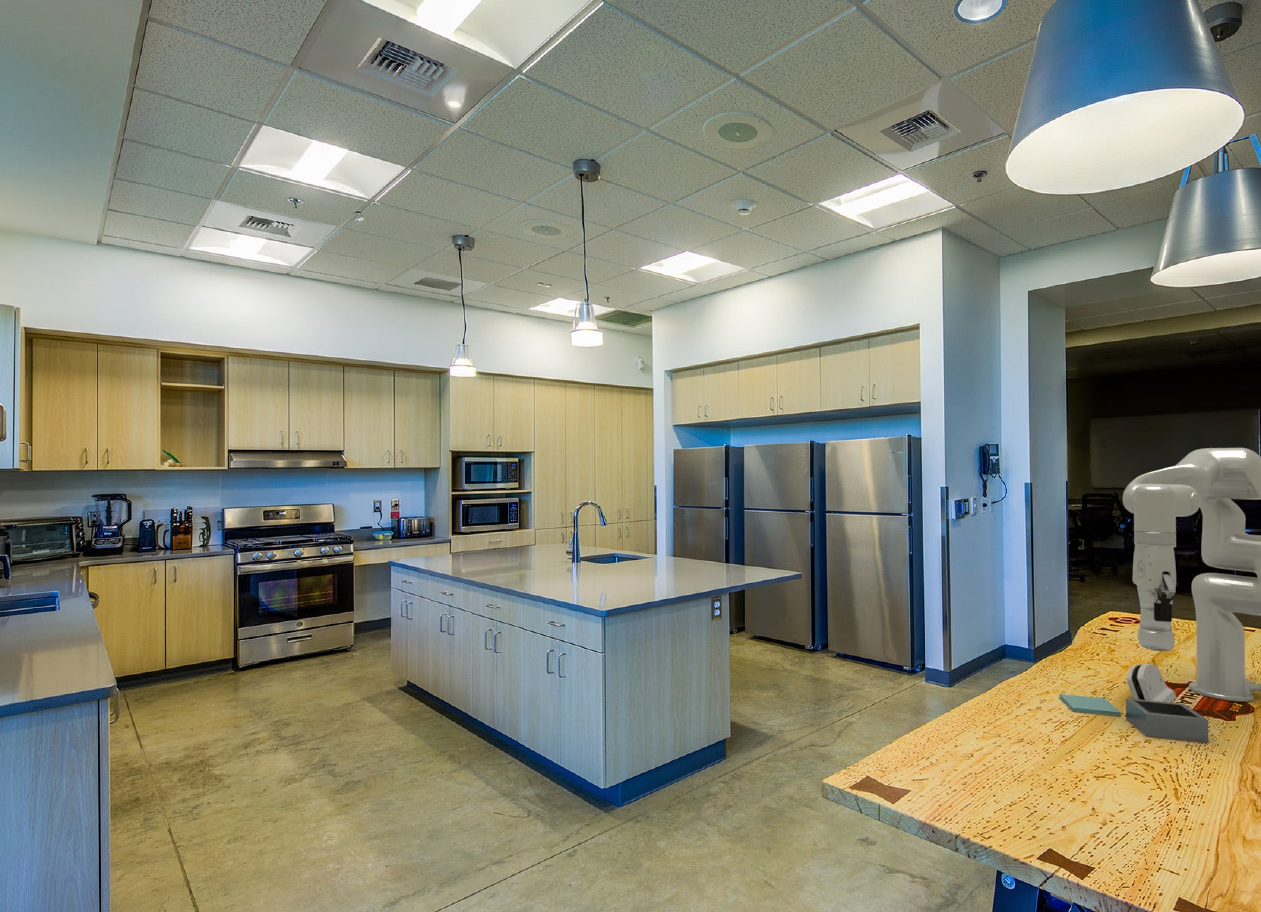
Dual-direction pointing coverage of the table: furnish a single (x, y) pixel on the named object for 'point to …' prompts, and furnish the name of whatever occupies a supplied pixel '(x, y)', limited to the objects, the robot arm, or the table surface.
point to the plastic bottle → (1153, 623)
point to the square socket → (1167, 720)
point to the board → (1090, 705)
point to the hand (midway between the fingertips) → (1155, 617)
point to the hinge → (1148, 684)
